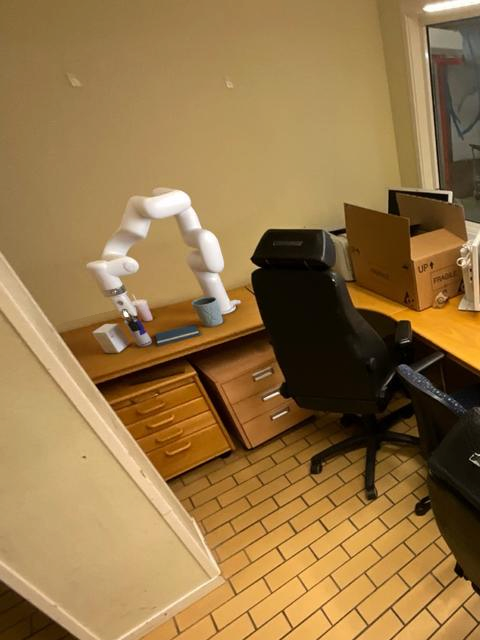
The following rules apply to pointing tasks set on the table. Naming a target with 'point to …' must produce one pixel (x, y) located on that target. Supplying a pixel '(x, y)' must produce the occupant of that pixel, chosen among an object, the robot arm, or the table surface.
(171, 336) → the book
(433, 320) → the table surface
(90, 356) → the table surface
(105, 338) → the small box
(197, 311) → the blue plant pot
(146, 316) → the smoothie
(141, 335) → the energy drink
